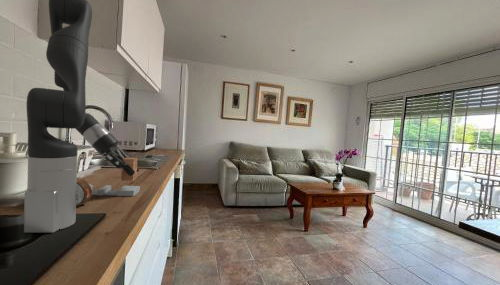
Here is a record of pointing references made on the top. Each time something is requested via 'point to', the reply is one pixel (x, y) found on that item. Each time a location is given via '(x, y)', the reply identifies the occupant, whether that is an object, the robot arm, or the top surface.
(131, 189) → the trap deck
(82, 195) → the tin
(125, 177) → the block
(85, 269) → the top surface
